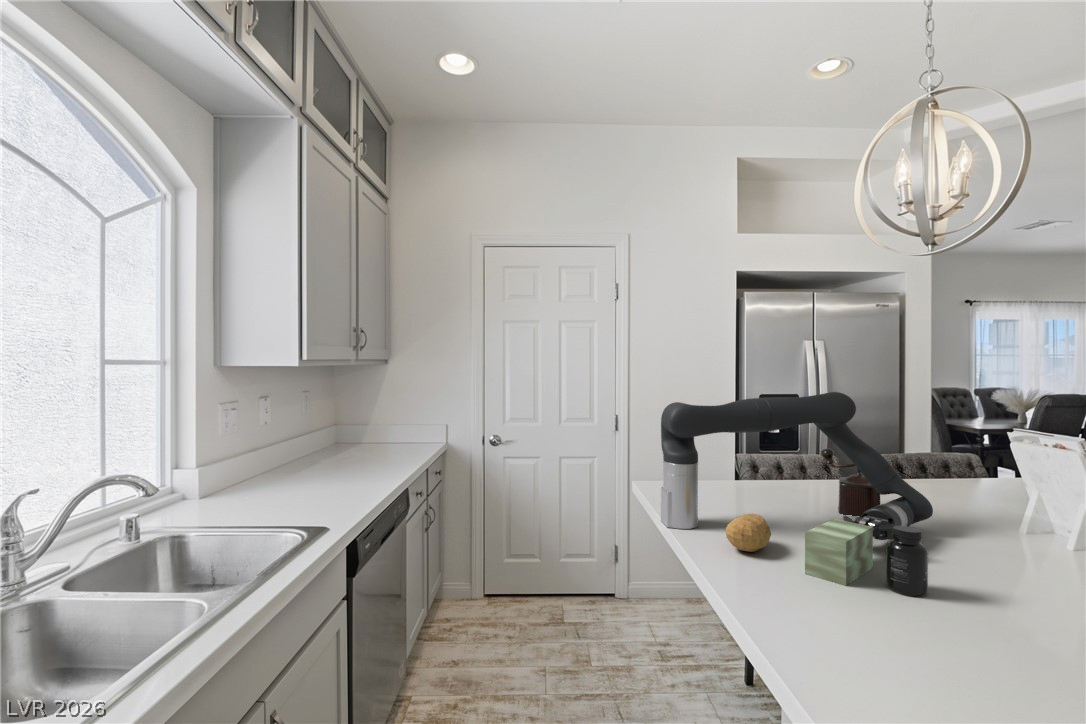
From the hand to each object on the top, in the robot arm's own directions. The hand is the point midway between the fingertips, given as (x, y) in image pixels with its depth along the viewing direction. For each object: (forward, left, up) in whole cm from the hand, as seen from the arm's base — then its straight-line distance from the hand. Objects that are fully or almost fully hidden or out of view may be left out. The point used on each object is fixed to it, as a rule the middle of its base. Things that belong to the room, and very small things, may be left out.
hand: (856, 534), depth 121 cm
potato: (-21, +9, -6) cm, 23 cm away
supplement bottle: (0, -15, -6) cm, 17 cm away
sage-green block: (-7, -5, -6) cm, 11 cm away
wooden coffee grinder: (+24, +39, -6) cm, 46 cm away
